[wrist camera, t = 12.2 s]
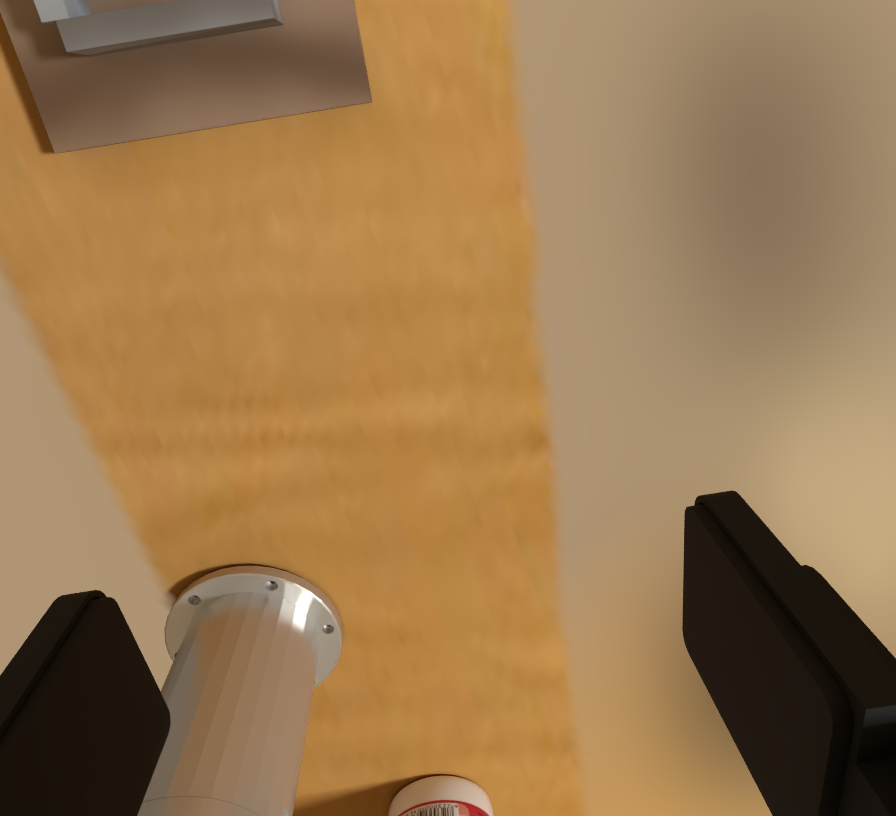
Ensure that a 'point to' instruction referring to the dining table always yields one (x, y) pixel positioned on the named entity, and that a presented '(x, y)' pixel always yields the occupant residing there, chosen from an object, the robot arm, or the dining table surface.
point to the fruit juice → (441, 798)
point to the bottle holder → (182, 64)
